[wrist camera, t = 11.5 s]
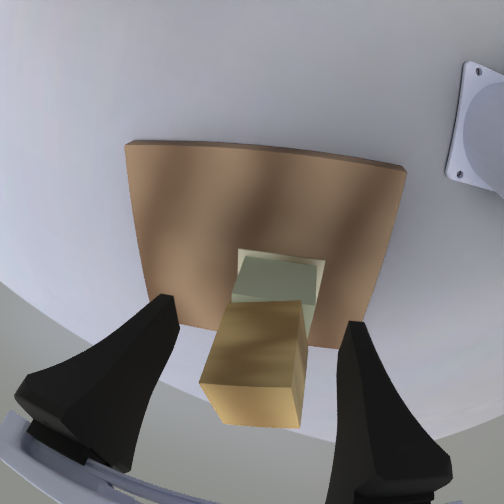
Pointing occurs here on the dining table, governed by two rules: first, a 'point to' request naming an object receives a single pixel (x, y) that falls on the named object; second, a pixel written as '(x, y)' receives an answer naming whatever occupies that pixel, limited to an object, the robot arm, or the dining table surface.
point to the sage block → (277, 284)
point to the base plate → (260, 224)
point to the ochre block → (258, 365)
